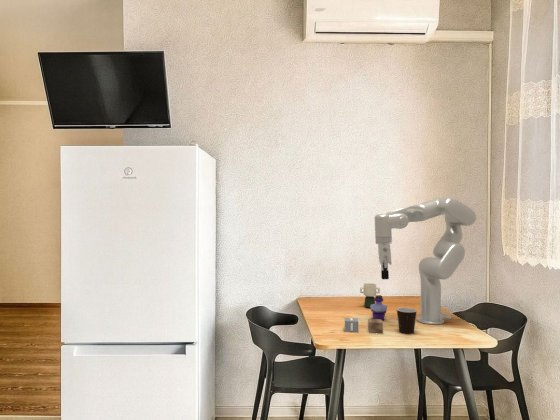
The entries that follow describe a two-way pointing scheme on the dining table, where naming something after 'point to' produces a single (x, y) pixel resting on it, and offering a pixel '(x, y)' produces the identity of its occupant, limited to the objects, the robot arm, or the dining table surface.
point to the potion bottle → (378, 308)
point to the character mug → (369, 293)
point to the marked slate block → (351, 324)
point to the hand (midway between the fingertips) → (385, 278)
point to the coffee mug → (406, 320)
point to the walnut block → (375, 326)
